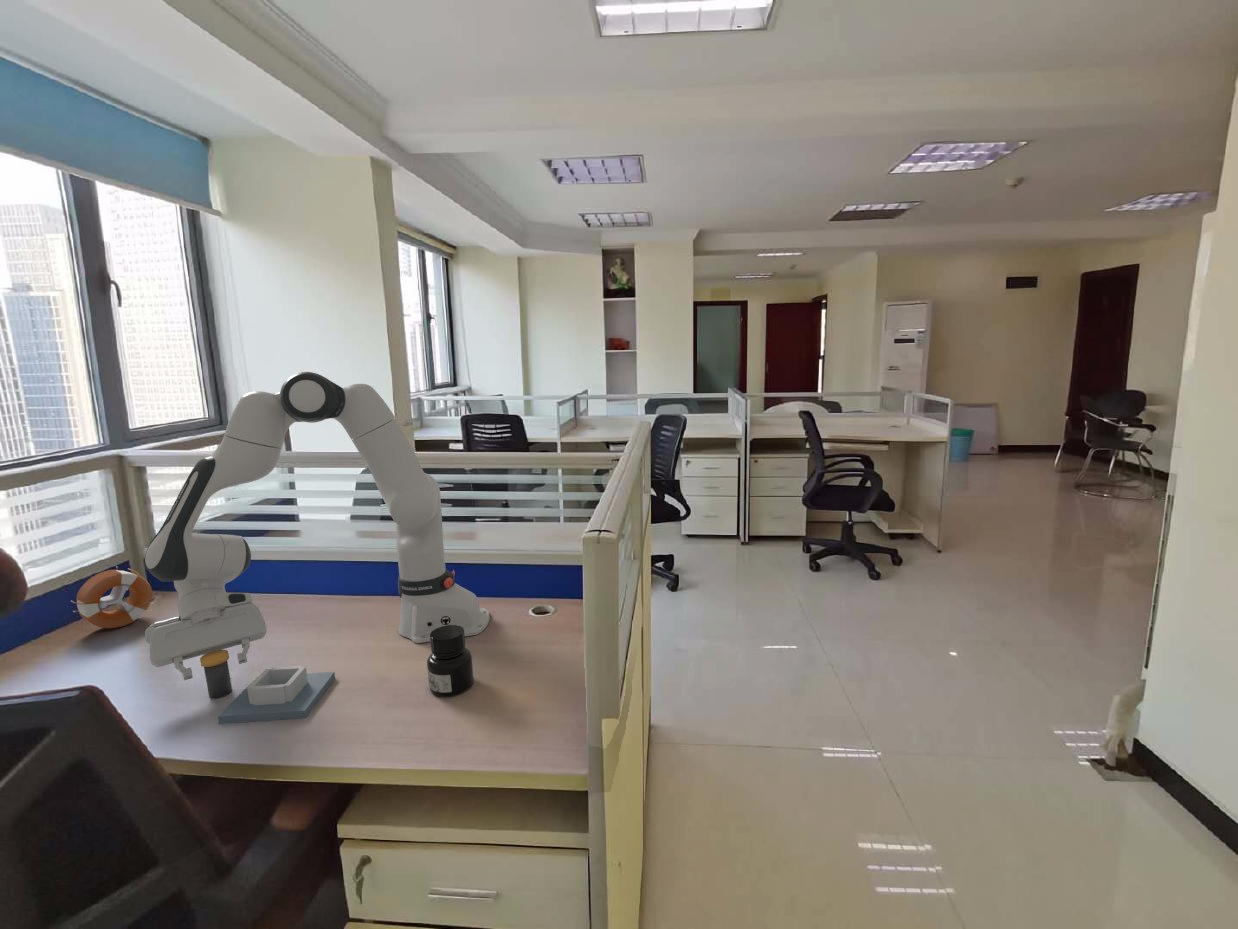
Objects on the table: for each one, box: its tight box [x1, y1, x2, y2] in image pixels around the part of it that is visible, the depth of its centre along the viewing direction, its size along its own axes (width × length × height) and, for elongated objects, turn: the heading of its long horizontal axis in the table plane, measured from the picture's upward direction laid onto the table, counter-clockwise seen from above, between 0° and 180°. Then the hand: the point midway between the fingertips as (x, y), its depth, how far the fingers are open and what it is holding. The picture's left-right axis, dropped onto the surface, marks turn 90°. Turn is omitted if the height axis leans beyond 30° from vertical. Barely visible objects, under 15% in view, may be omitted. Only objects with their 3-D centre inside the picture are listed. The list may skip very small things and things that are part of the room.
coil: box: [70, 566, 153, 630], centre depth 154 cm, size 7×15×15 cm, turn 148°
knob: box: [199, 649, 233, 700], centre depth 121 cm, size 5×5×8 cm
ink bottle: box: [426, 625, 474, 698], centre depth 121 cm, size 10×9×12 cm
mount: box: [217, 665, 336, 725], centre depth 118 cm, size 16×14×5 cm
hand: (216, 670), depth 121 cm, fingers open, 8 cm apart
